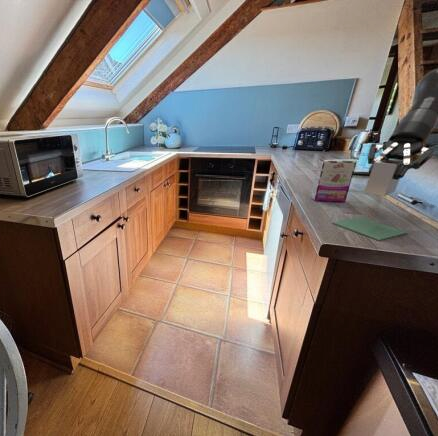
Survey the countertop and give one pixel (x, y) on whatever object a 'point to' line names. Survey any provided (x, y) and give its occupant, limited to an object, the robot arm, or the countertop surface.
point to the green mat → (370, 228)
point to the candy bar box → (333, 180)
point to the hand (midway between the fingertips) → (383, 175)
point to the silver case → (383, 177)
